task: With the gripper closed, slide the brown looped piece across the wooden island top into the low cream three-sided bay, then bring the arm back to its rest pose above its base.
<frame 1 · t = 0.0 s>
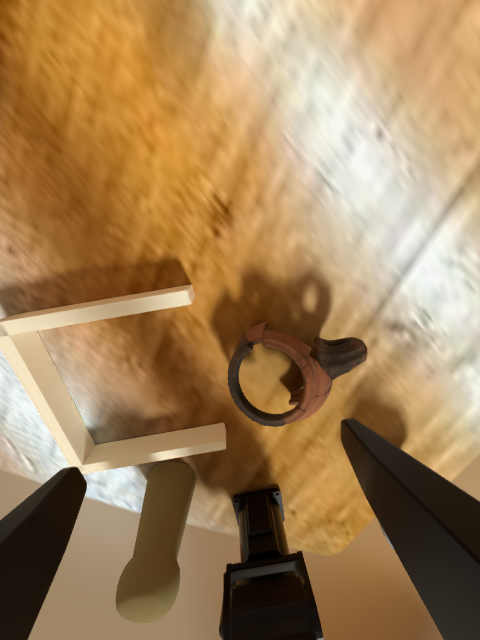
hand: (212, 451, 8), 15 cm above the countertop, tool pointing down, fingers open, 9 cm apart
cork: (173, 477, 28), on the countertop
cream bay: (139, 378, 23), on the countertop
brown looped piece: (286, 352, 24), on the countertop
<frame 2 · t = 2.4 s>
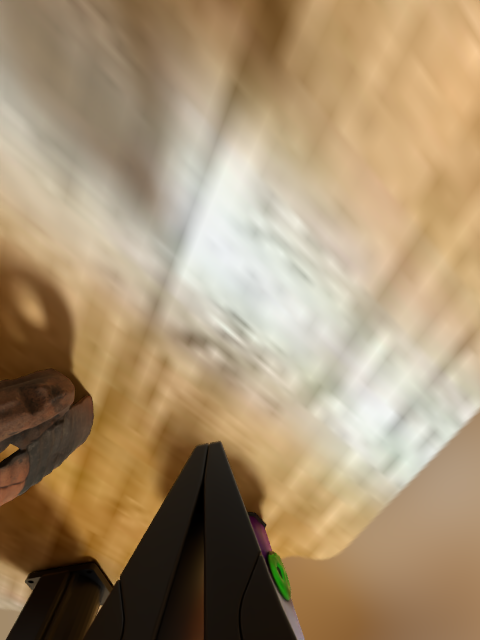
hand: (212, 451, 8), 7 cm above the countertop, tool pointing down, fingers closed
potion bottle: (236, 527, 21), on the countertop
brown looped piece: (34, 389, 15), on the countertop
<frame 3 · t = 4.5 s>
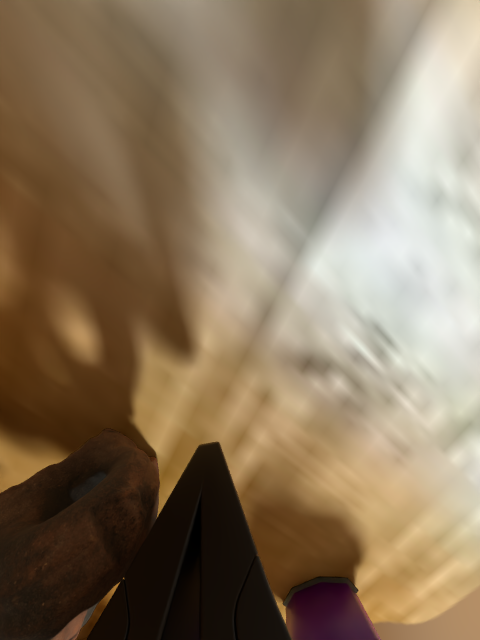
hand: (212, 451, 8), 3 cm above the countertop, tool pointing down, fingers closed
potion bottle: (319, 593, 17), on the countertop
brown looped piece: (75, 450, 11), on the countertop, touching gripper
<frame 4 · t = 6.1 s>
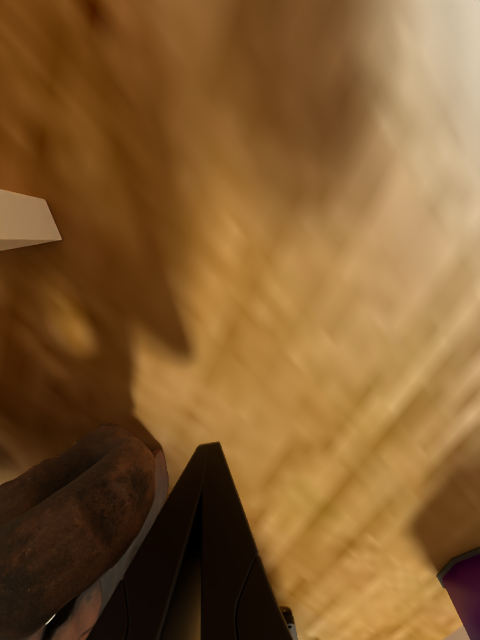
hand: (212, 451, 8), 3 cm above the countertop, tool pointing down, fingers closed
potion bottle: (471, 565, 17), on the countertop
brown looped piece: (81, 450, 11), on the countertop, touching gripper
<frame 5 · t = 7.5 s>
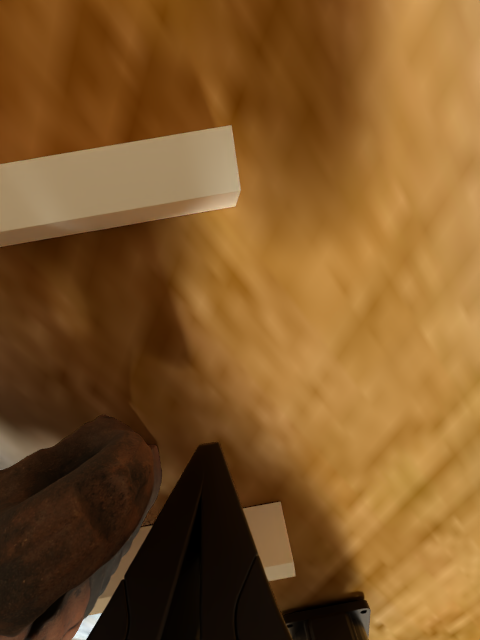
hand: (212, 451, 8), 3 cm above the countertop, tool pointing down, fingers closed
cream bay: (96, 422, 10), on the countertop
brown looped piece: (74, 441, 10), on the countertop, touching cream bay, gripper
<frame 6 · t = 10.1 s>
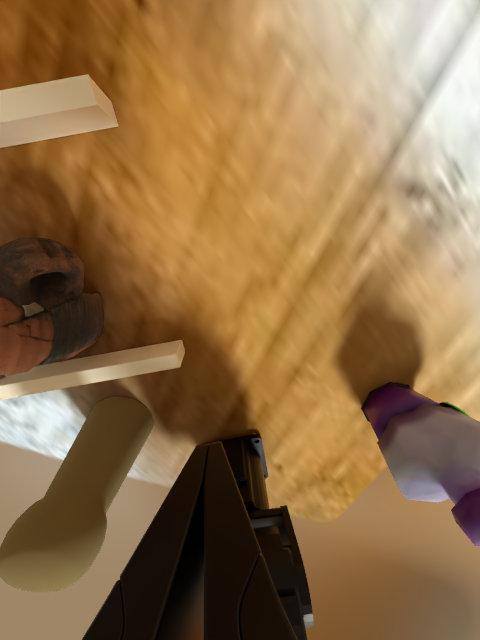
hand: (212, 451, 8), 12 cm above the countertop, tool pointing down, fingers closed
potion bottle: (386, 402, 24), on the countertop
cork: (123, 419, 22), on the countertop
cream bay: (56, 268, 17), on the countertop
brown looped piece: (51, 292, 18), on the countertop
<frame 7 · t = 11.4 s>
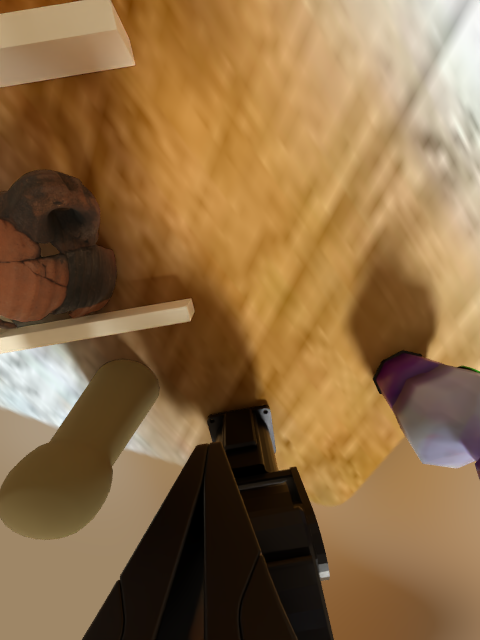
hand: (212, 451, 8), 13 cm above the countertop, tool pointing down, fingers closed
potion bottle: (398, 373, 23), on the countertop
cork: (128, 385, 22), on the countertop
cream bay: (66, 216, 16), on the countertop
brown looped piece: (64, 249, 17), on the countertop
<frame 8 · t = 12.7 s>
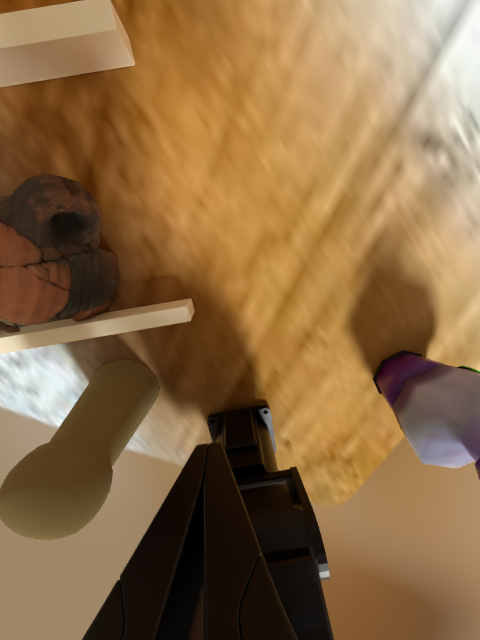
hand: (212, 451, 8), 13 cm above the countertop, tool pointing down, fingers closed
potion bottle: (398, 373, 23), on the countertop
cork: (128, 385, 22), on the countertop
cream bay: (66, 216, 16), on the countertop
brown looped piece: (66, 253, 17), on the countertop
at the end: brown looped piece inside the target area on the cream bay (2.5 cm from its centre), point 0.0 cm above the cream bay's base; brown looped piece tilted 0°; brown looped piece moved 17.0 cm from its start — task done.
